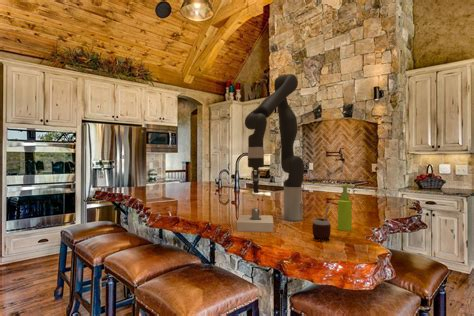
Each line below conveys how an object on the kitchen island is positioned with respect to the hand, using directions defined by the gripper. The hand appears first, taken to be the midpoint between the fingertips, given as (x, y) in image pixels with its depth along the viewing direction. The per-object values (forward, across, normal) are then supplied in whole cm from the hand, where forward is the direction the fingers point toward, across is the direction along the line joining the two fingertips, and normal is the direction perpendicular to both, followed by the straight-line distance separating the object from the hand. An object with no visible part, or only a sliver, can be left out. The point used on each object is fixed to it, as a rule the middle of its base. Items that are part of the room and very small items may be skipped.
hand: (256, 191), depth 137 cm
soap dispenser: (+17, 0, -41) cm, 44 cm away
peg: (+17, 0, 0) cm, 17 cm away
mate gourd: (+17, -17, -27) cm, 36 cm away
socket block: (+16, 0, 0) cm, 17 cm away
